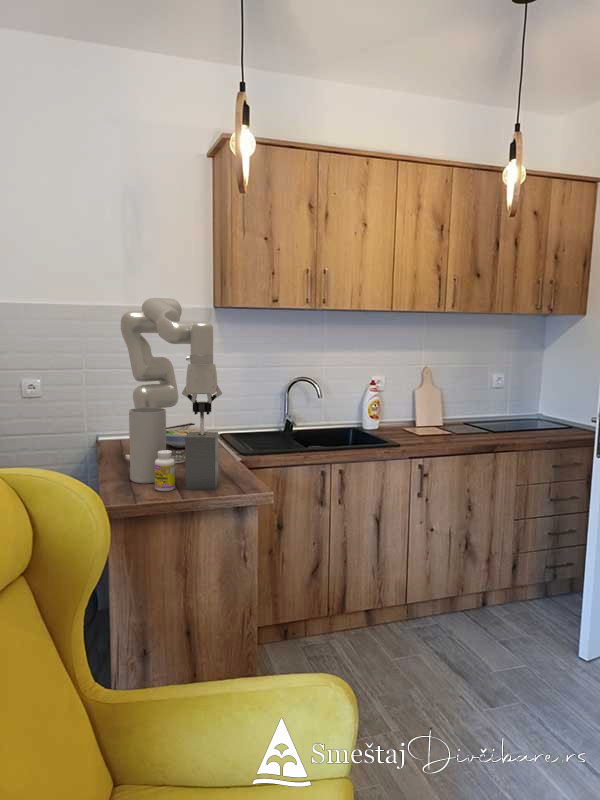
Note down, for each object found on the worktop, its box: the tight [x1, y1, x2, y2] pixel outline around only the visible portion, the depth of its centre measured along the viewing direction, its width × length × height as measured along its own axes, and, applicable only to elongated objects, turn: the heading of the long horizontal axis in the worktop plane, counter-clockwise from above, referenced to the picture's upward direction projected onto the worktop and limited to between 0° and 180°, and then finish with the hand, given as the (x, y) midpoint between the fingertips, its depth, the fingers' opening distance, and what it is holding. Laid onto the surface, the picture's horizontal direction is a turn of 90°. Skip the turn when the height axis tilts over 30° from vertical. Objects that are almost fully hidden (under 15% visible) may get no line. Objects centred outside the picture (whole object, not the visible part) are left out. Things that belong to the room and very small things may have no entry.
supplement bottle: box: [154, 449, 176, 492], centre depth 201 cm, size 7×7×13 cm
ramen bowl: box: [166, 422, 208, 449], centre depth 270 cm, size 25×23×8 cm
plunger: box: [197, 401, 207, 435], centre depth 204 cm, size 7×7×21 cm
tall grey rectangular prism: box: [184, 431, 219, 491], centre depth 207 cm, size 10×13×18 cm
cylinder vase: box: [128, 407, 167, 484], centre depth 212 cm, size 12×12×25 cm
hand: (202, 413), depth 203 cm, fingers closed on plunger, 3 cm apart
